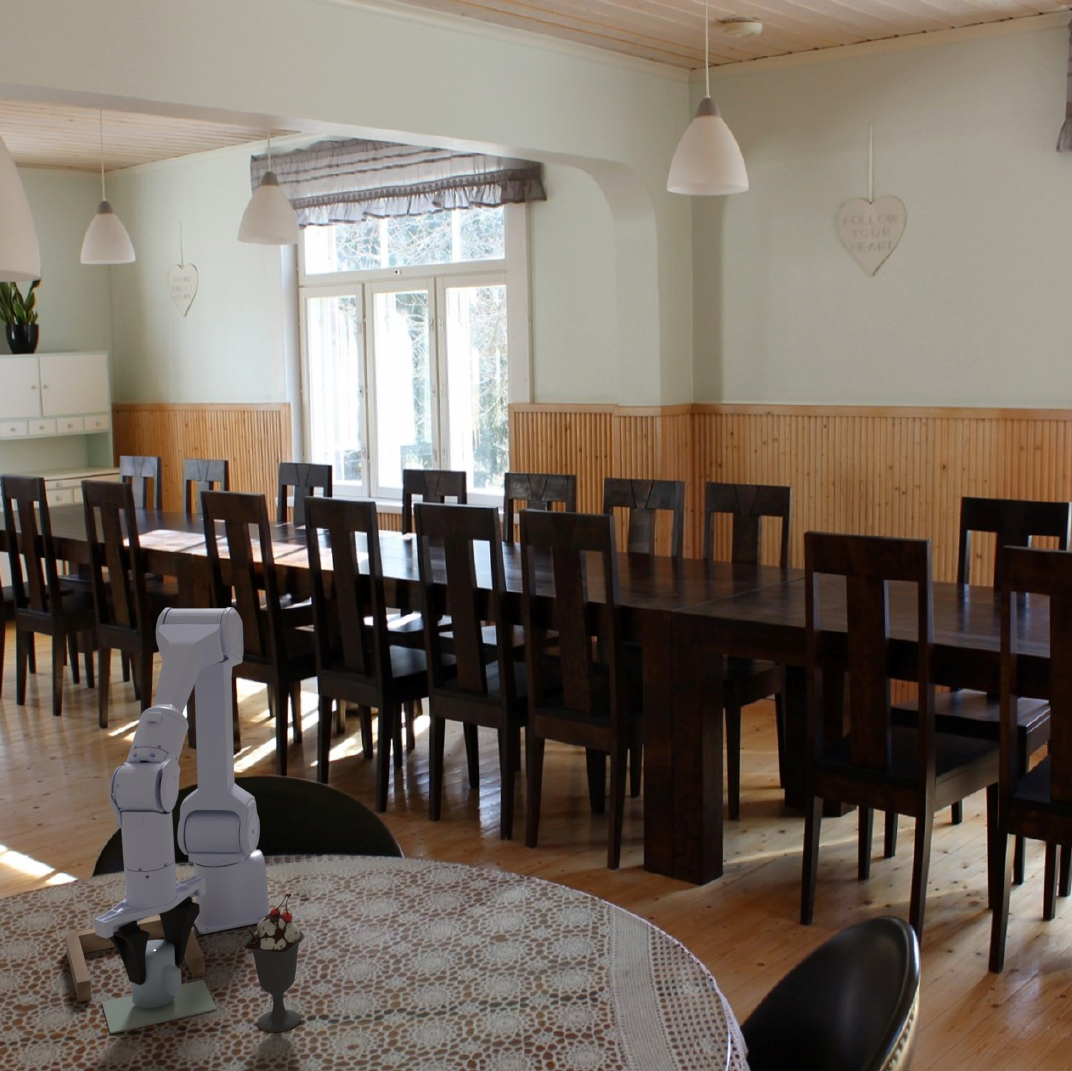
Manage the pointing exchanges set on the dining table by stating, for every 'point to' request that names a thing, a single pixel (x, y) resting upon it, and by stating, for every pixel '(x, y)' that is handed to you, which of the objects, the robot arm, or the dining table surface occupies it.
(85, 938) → the wooden frame
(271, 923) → the sundae
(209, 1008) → the mat
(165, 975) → the grey rounded cylinder
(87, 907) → the dining table surface
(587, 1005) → the dining table surface
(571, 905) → the dining table surface
